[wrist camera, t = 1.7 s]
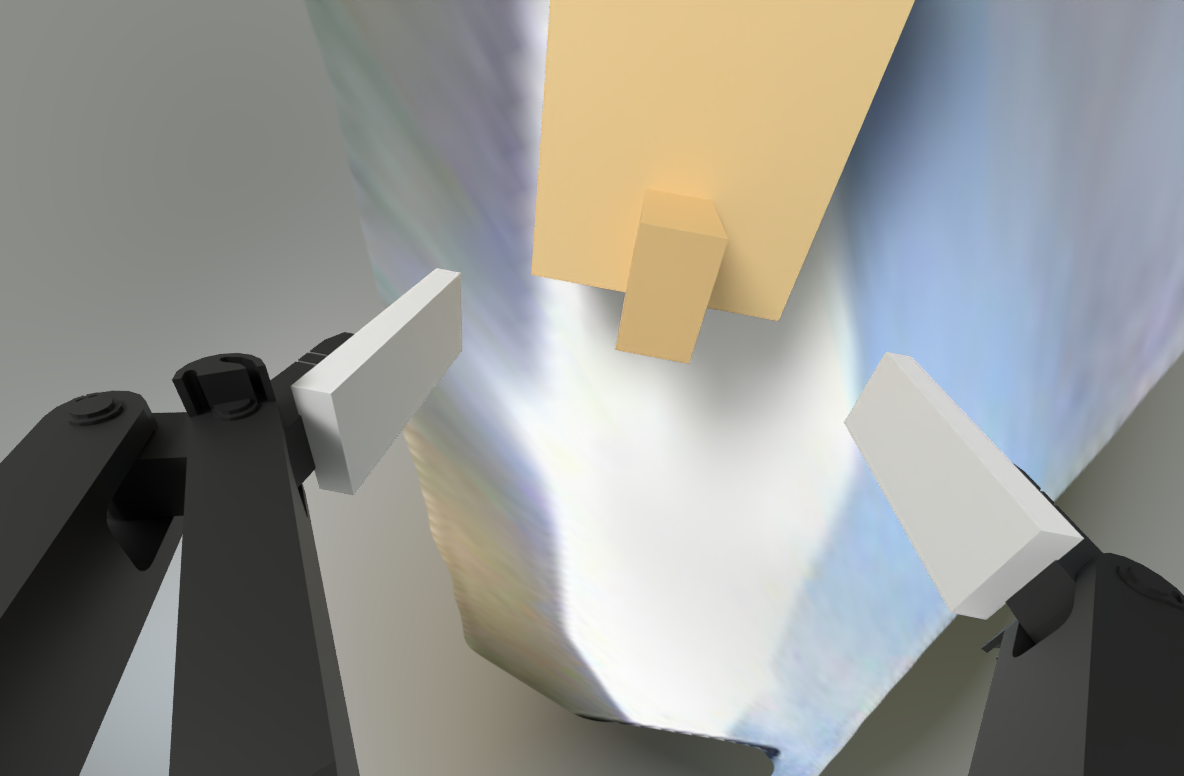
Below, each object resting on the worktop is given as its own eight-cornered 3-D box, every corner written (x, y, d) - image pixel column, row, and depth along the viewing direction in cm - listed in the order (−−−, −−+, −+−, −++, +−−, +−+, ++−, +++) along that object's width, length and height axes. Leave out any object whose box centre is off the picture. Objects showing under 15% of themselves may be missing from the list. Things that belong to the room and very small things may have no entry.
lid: (585, -329, 14) (519, -681, 7) (1002, -263, 14) (1309, -574, 7) (539, 263, 25) (495, 326, 18) (771, 306, 24) (810, 386, 18)
